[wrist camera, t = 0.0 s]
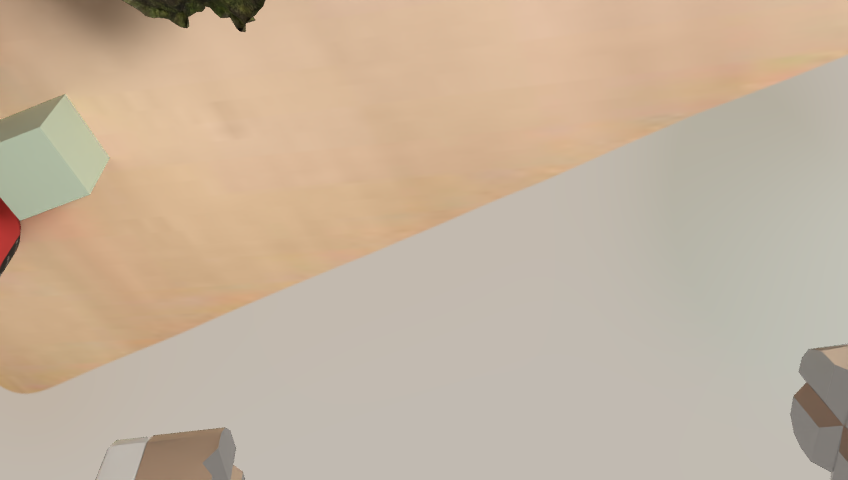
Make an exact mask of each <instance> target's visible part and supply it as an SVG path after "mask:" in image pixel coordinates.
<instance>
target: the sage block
mask: <svg viewBox="0 0 848 480" xmlns="http://www.w3.org/2000/svg"><path fill="white" fill-rule="evenodd" d="M109 159H110V157H109V156H108V154H107V153H106V151H105V150H104V149H103V147H102V146H101V144H100V143H99V141H98V140H97V139H96V137H95V136H94V134H93V133H92V131H91V130H90V129H89V127H88V126H87V124H86V123H85V121H84V120H83V119H82V117H81V116H80V114H79V113H78V111H77V110H76V109H75V107H74V106H73V104H72V103H71V101H70V100H69V99H68V97H67V96H66V94H64V95H62V96H59V97H57V98H54V99H52V100H49V101H47V102H44V103H41V104H39V105H36V106H34V107H31V108H29V109H26V110H24V111H21V112H19V113H16V114H14V115H11V116H9V117H6V118H4V119H1V120H0V198H1V199H2V200H3V201H4V202H5V204H6V205H7V206H8V207H9V208H10V210H11V211H12V212H13V213H14V214H15V216H16V217H17V218H18V219H19V220H20V221H21V220H24V219H26V218H29V217H32V216H34V215H37V214H40V213H42V212H45V211H48V210H50V209H53V208H55V207H58V206H61V205H63V204H66V203H69V202H71V201H74V200H77V199H79V198H82V197H85V196H87V195H90V193H91V192H92V190H93V188H94V186H95V184H96V182H97V181H98V179H99V177H100V175H101V173H102V172H103V170H104V168H105V166H106V164H107V162H108V161H109Z"/></svg>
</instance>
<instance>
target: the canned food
mask: <svg viewBox="0 0 848 480" xmlns="http://www.w3.org/2000/svg"><path fill="white" fill-rule="evenodd" d="M20 230H21V226H20V220H19V219H18V218H17V217H16V216H15V214H14V213H13V212H12V211H11V210H10V208H9V207H8V206H7V205H6V204H5V202H4V201H3V200H2V199H1V198H0V276H1V274H2V273H3V271H4V270H5V268H6V266H7V265H8V263H9V262H10V260H11V258H12V257H13V255H14V254H15V252H16V250H17V248H18V245H19V242H20Z"/></svg>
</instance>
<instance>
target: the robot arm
mask: <svg viewBox="0 0 848 480" xmlns="http://www.w3.org/2000/svg"><path fill="white" fill-rule="evenodd" d="M799 373H800V374H801V376H802V377H803V378H804V380H805V381H806V384H805V385H804V386H803V387H802V388H801V389H800V390H799V391H798V392H797V393H796V394H795V395H794V397H793V402H792V408H791V419H792V425H793V430H794V434H795V436H796V439H797V441H798V443H799V445H800V447H801V449H802V450H803V451H804V452H805V454H806V455H807V457H808V458H809V459H810V461H811V462H813V463H815V464H817V465H819V466H820V467H822V468H824V469H826V470H828V471H830V472H831V480H848V344H842V345H834V346H828V347H820V348H813V349H808V351H807V352H806V353H805V355H804V356H803V357H802V360H801V364H800V368H799ZM235 451H236V447H235V444H234V441H233V438H232V435H231V432H230V430H229V429H227V428H216V429H208V430H198V431H189V432H180V433H171V434H161V435H154V436H153V437H141V438H133V439H123V440H116V441H115V442H114V443H113V444H112V445H111V446H110V447H109V448H108V450H107V452H106V454H105V457H104V460H103V462H102V464H101V467H100V469H99V472H98V474H97V477H96V480H245V478H244V474H243V472H242V471H241V470H240V469H238V468H237V467H236V466H234V465H233V463H234V457H235Z"/></svg>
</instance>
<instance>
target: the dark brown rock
mask: <svg viewBox="0 0 848 480" xmlns="http://www.w3.org/2000/svg"><path fill="white" fill-rule="evenodd" d="M123 1H124V2H126V3H128V4H129V5H131V6H133V7H134V8H136V9H138V10H139V11H141V12H142V13H143V14H144V15H145V16H148V17H152V18H166V19H169V20H171V21H172V22H173V23H175V24H177V25H178V26H180V27H183V28H188V27H189V20H188V17H189V16H191V15H193V14H194V13H196V12H202V11H203V10H204V9H205V6H206V7H210V8H211V9H212V10H213V11H214V13H216V14H217V15H218V16H219V17H220V18H229V17H230V18H231V20H232V21H233V23H234V25H235V27H236V28H237V29H238V30H239V31H241V32H246V23H248V22H252V21H255V19H254V17H253V16H255V15H256V14H257V12H258V11H259V10H260V9H261V8H262V7H263V5H264V2H265V0H123Z"/></svg>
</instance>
